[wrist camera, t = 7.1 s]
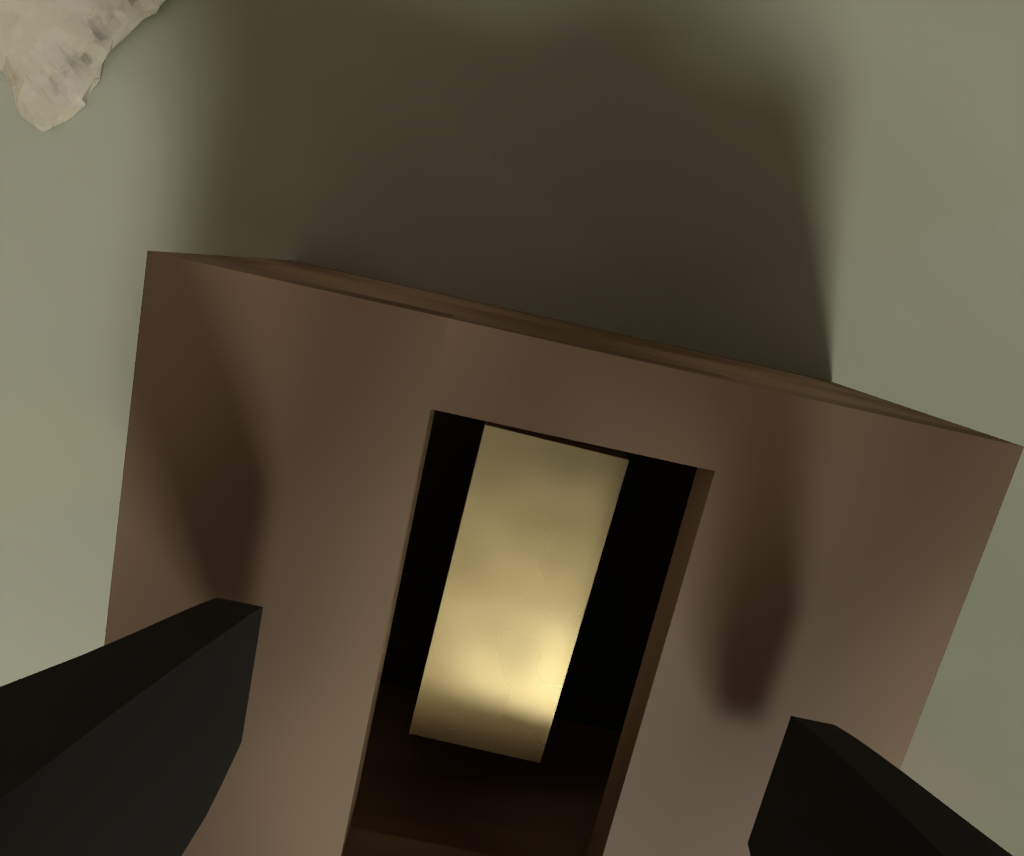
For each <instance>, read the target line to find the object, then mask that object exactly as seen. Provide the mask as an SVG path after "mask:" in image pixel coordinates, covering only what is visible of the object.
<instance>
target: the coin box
mask: <svg viewBox="0 0 1024 856" xmlns="http://www.w3.org/2000/svg"><path fill="white" fill-rule="evenodd" d="M435 410H437V411H442V412H446V413H451V414H456V415H460V416H465V417H469V418H474V419H479V420H483V421H488V422H492V423H497V424H501V425H506V426H511V427H515V428H520V429H524V430H529V431H533V432H538V433H543V434H547V435H552V436H556V437H561V438H565V439H570V440H575V441H579V442H584V443H588V444H593V445H597V446H602V447H607V448H611V449H616V450H620V451H625V452H629V453H634V454H639V455H643V456H648V457H652V458H657V459H662V460H666V461H671V462H675V463H680V464H684V465H689V466H694V467H697V471H696V474H695V478H694V481H693V485H692V488H691V492H690V495H689V499H688V502H687V506H686V509H685V513H684V516H683V520H682V523H681V527H680V530H679V534H678V537H677V541H676V544H675V548H674V551H673V555H672V558H671V562H670V565H669V569H668V572H667V576H666V579H665V583H664V586H663V590H662V593H661V597H660V600H659V604H658V607H657V611H656V614H655V618H654V621H653V624H652V628H651V631H650V635H649V638H648V642H647V645H646V649H645V652H644V656H643V659H642V663H641V666H640V670H639V673H638V677H637V680H636V684H635V687H634V691H633V694H632V698H631V701H630V705H629V708H628V712H627V715H626V719H625V722H624V726H623V729H622V733H621V732H616V731H611V730H607V729H602V728H597V727H592V726H587V725H582V724H577V723H572V722H567V721H562V720H557V719H553V721H552V724H551V727H550V731H549V734H548V738H547V741H546V745H545V748H544V751H543V755H542V758H541V762H540V763H538V762H533V761H529V760H525V759H520V758H516V757H511V756H507V755H502V754H498V753H493V752H489V751H485V750H480V749H476V748H471V747H467V746H462V745H458V744H454V743H449V742H445V741H440V740H436V739H431V738H427V737H422V736H418V735H414V734H409V731H410V727H411V722H412V718H413V714H414V710H415V706H416V702H417V697H418V693H419V691H415V690H410V689H405V688H400V687H395V686H390V685H385V684H381V683H380V680H381V675H382V670H383V665H384V660H385V655H386V650H387V645H388V640H389V635H390V630H391V625H392V620H393V616H394V611H395V606H396V601H397V596H398V591H399V586H400V581H401V576H402V571H403V566H404V561H405V556H406V551H407V546H408V541H409V536H410V531H411V526H412V522H413V517H414V512H415V507H416V502H417V497H418V492H419V487H420V482H421V477H422V472H423V467H424V462H425V457H426V452H427V447H428V442H429V437H430V432H431V427H432V423H433V418H434V413H435ZM1023 448H1024V447H1023V446H1020V445H1017V444H1014V443H1011V442H1008V441H1005V440H1002V439H999V438H996V437H993V436H990V435H987V434H984V433H981V432H979V431H976V430H973V429H970V428H967V427H964V426H961V425H958V424H955V423H952V422H949V421H946V420H943V419H940V418H937V417H934V416H931V415H928V414H925V413H922V412H919V411H916V410H913V409H910V408H907V407H904V406H902V405H899V404H896V403H893V402H890V401H887V400H884V399H881V398H878V397H875V396H872V395H869V394H866V393H863V392H860V391H857V390H854V389H851V388H848V387H845V386H842V385H839V384H836V383H833V382H829V381H825V380H820V379H816V378H811V377H807V376H802V375H798V374H794V373H789V372H785V371H780V370H776V369H771V368H767V367H762V366H758V365H754V364H749V363H745V362H740V361H736V360H731V359H727V358H722V357H718V356H714V355H709V354H705V353H700V352H696V351H691V350H687V349H682V348H678V347H673V346H669V345H665V344H660V343H656V342H651V341H647V340H642V339H638V338H633V337H629V336H625V335H620V334H616V333H611V332H607V331H602V330H598V329H593V328H589V327H584V326H580V325H576V324H571V323H567V322H562V321H558V320H553V319H549V318H544V317H540V316H536V315H531V314H527V313H522V312H518V311H513V310H509V309H504V308H500V307H495V306H491V305H487V304H482V303H478V302H473V301H469V300H464V299H460V298H455V297H451V296H447V295H442V294H438V293H433V292H429V291H424V290H420V289H415V288H411V287H407V286H402V285H398V284H393V283H389V282H384V281H380V280H375V279H371V278H366V277H362V276H358V275H353V274H349V273H344V272H340V271H335V270H331V269H326V268H322V267H318V266H313V265H309V264H304V263H300V262H295V261H289V260H274V259H259V258H245V257H230V256H215V255H200V254H186V253H171V252H156V251H148V252H147V261H146V270H145V280H144V289H143V298H142V307H141V316H140V325H139V334H138V343H137V353H136V362H135V371H134V380H133V389H132V398H131V407H130V416H129V425H128V435H127V444H126V453H125V462H124V471H123V480H122V489H121V498H120V508H119V517H118V526H117V535H116V544H115V553H114V562H113V571H112V580H111V590H110V599H109V608H108V617H107V626H106V635H105V644H104V646H105V645H107V644H109V643H111V642H114V641H116V640H118V639H121V638H123V637H125V636H128V635H130V634H132V633H134V632H137V631H139V630H141V629H144V628H146V627H148V626H150V625H153V624H155V623H157V622H159V621H162V620H164V619H166V618H168V617H171V616H173V615H175V614H177V613H180V612H182V611H184V610H186V609H189V608H191V607H194V606H196V605H198V604H201V603H203V602H206V601H209V600H211V599H214V598H217V597H218V598H223V599H227V600H232V601H237V602H242V603H247V604H252V605H257V606H261V607H263V611H262V617H261V623H260V630H259V636H258V642H257V649H256V655H255V661H254V667H253V674H252V680H251V686H250V692H249V699H248V705H247V711H246V718H245V724H244V730H243V736H242V742H241V744H240V747H239V749H238V751H237V753H236V755H235V757H234V759H233V762H232V764H231V766H230V768H229V770H228V772H227V774H226V777H225V779H224V781H223V783H222V785H221V787H220V789H219V791H218V793H217V795H216V797H215V799H214V801H213V803H212V805H211V807H210V809H209V811H208V813H207V815H206V817H205V819H204V820H203V822H202V824H201V825H200V827H199V828H198V830H197V832H196V833H195V835H194V837H193V838H192V840H191V841H190V843H189V845H188V846H187V848H186V849H185V851H184V853H183V854H182V856H750V852H749V847H748V840H749V837H750V834H751V831H752V828H753V826H754V823H755V820H756V817H757V814H758V811H759V808H760V805H761V802H762V799H763V796H764V793H765V790H766V787H767V785H768V782H769V779H770V776H771V773H772V770H773V767H774V764H775V761H776V758H777V755H778V752H779V749H780V746H781V744H782V741H783V738H784V735H785V732H786V729H787V726H788V723H789V720H790V717H791V716H795V717H799V718H804V719H809V720H814V721H819V722H824V723H829V724H833V725H836V726H838V727H839V728H841V729H843V730H844V731H846V732H847V733H849V734H851V735H852V736H854V737H855V738H857V739H858V740H860V741H861V742H862V743H864V744H865V745H867V746H868V747H870V748H871V749H872V750H874V751H875V752H876V753H878V754H879V755H881V756H882V757H883V758H885V759H886V760H887V761H889V762H890V763H891V764H893V765H894V766H895V767H897V768H898V769H899V770H900V767H901V765H902V762H903V759H904V757H905V754H906V752H907V749H908V746H909V744H910V741H911V739H912V736H913V733H914V731H915V728H916V726H917V723H918V720H919V718H920V715H921V713H922V710H923V708H924V705H925V702H926V700H927V697H928V695H929V692H930V689H931V687H932V684H933V682H934V679H935V676H936V674H937V671H938V669H939V666H940V663H941V661H942V658H943V656H944V653H945V650H946V648H947V645H948V643H949V640H950V637H951V635H952V632H953V630H954V627H955V624H956V622H957V619H958V617H959V614H960V611H961V609H962V606H963V604H964V601H965V598H966V596H967V593H968V591H969V588H970V585H971V583H972V580H973V578H974V575H975V572H976V570H977V567H978V565H979V562H980V559H981V557H982V554H983V552H984V549H985V546H986V544H987V541H988V539H989V536H990V533H991V531H992V528H993V526H994V523H995V520H996V518H997V515H998V513H999V510H1000V507H1001V505H1002V502H1003V500H1004V497H1005V494H1006V492H1007V489H1008V487H1009V484H1010V481H1011V479H1012V476H1013V474H1014V471H1015V468H1016V466H1017V463H1018V461H1019V458H1020V455H1021V453H1022V450H1023Z"/></svg>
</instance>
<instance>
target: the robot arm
mask: <svg viewBox="0 0 1024 856" xmlns="http://www.w3.org/2000/svg"><path fill="white" fill-rule="evenodd" d="M262 611H263V607H261V606H257V605H252V604H247V603H242V602H237V601H232V600H227V599H223V598H218V597H217V598H214V599H211V600H209V601H206V602H203V603H201V604H198V605H196V606H194V607H191V608H189V609H186V610H184V611H182V612H180V613H177V614H175V615H173V616H171V617H168V618H166V619H164V620H162V621H159V622H157V623H155V624H153V625H150V626H148V627H146V628H144V629H141V630H139V631H137V632H134V633H132V634H130V635H128V636H125V637H123V638H121V639H118V640H116V641H114V642H111V643H109V644H107V645H105V646H102V647H100V648H98V649H95V650H93V651H91V652H88V653H86V654H84V655H81V656H79V657H76V658H74V659H71V660H68V661H66V662H63V663H61V664H58V665H56V666H53V667H50V668H48V669H45V670H43V671H40V672H37V673H35V674H32V675H30V676H27V677H25V678H22V679H19V680H17V681H14V682H12V683H9V684H7V685H4V686H1V687H0V856H182V854H183V853H184V851H185V849H186V848H187V846H188V845H189V843H190V841H191V840H192V838H193V837H194V835H195V833H196V832H197V830H198V828H199V827H200V825H201V824H202V822H203V820H204V819H205V817H206V815H207V813H208V811H209V809H210V807H211V805H212V803H213V801H214V799H215V797H216V795H217V793H218V791H219V789H220V787H221V785H222V783H223V781H224V779H225V777H226V774H227V772H228V770H229V768H230V766H231V764H232V762H233V759H234V757H235V755H236V753H237V751H238V749H239V747H240V744H241V742H242V736H243V730H244V724H245V718H246V711H247V705H248V699H249V692H250V686H251V680H252V674H253V667H254V661H255V655H256V649H257V642H258V636H259V630H260V623H261V617H262ZM748 847H749V852H750V856H1012V855H1011V854H1010V853H1008V852H1007V851H1006V850H1004V849H1003V848H1002V847H1000V846H999V845H998V844H996V843H995V842H994V841H992V840H991V839H990V838H988V837H987V836H986V835H984V834H983V833H982V832H980V831H979V830H978V829H976V828H975V827H974V826H972V825H971V824H970V823H969V822H967V821H966V820H965V819H963V818H962V817H961V816H959V815H958V814H957V813H955V812H954V811H953V810H952V809H950V808H949V807H948V806H946V805H945V804H944V803H942V802H941V801H940V800H939V799H937V798H936V797H935V796H933V795H932V794H931V793H929V792H928V791H927V790H926V789H924V788H923V787H922V786H920V785H919V784H918V783H916V782H915V781H914V780H912V779H911V778H910V777H909V776H907V775H906V774H905V773H903V772H902V771H901V770H899V769H898V768H897V767H895V766H894V765H893V764H891V763H890V762H889V761H887V760H886V759H885V758H883V757H882V756H881V755H879V754H878V753H876V752H875V751H874V750H872V749H871V748H870V747H868V746H867V745H865V744H864V743H862V742H861V741H860V740H858V739H857V738H855V737H854V736H852V735H851V734H849V733H847V732H846V731H844V730H843V729H841V728H839V727H838V726H836V725H833V724H829V723H824V722H819V721H814V720H809V719H804V718H799V717H795V716H791V717H790V720H789V723H788V726H787V729H786V732H785V735H784V738H783V741H782V744H781V746H780V749H779V752H778V755H777V758H776V761H775V764H774V767H773V770H772V773H771V776H770V779H769V782H768V785H767V787H766V790H765V793H764V796H763V799H762V802H761V805H760V808H759V811H758V814H757V817H756V820H755V823H754V826H753V828H752V831H751V834H750V837H749V840H748Z"/></svg>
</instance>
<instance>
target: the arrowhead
mask: <svg viewBox="0 0 1024 856" xmlns="http://www.w3.org/2000/svg"><path fill="white" fill-rule="evenodd" d="M165 1H166V0H0V70H1V71H2V72H3V74H4V75H5V77H6V78H7V79H8V81H9V82H10V83H11V85H12V86H13V90H14V96H15V101H16V106H17V109H18V110H19V112H20V114H21V115H22V117H23V118H24V119H25V120H27V121H28V122H29V123H31V124H32V125H34V126H35V127H36V128H38V129H39V130H41V131H42V132H45V131H47V130H49V129H50V128H52V127H54V126H56V125H58V124H60V123H62V122H64V121H66V120H69V119H71V118H72V117H73V116H74V115H75V114H76V113H78V112H79V111H80V110H81V109H82V108H83V107H84V106H85V105H86V102H87V96H88V94H89V93H90V92H91V91H92V90H93V89H94V87H95V86H96V85H97V83H98V82H99V81H100V79H101V73H102V68H103V63H104V60H105V58H106V57H107V55H108V53H109V52H110V51H111V50H112V49H113V48H114V47H115V46H116V45H117V44H118V43H119V42H120V41H121V40H123V39H124V38H125V37H126V36H127V35H128V34H129V33H130V32H131V31H132V30H133V29H134V28H135V27H136V26H137V25H138V24H139V23H140V22H141V21H142V20H143V19H145V18H147V17H149V16H151V15H153V14H156V13H157V11H158V9H159V7H160V6H161V5H162V4H163V3H164V2H165ZM42 119H43V120H42Z"/></svg>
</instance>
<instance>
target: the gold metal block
mask: <svg viewBox="0 0 1024 856" xmlns="http://www.w3.org/2000/svg"><path fill="white" fill-rule="evenodd" d="M628 462H629V459H628V458H627V456H626V454H625V453H624V451H620V450H616V449H611V448H607V447H602V446H597V445H593V444H588V443H584V442H579V441H575V440H570V439H565V438H561V437H556V436H552V435H547V434H543V433H538V432H533V431H529V430H524V429H520V428H515V427H511V426H506V425H501V424H497V423H492V422H488V421H485V423H484V427H483V432H482V436H481V440H480V444H479V448H478V452H477V456H476V460H475V464H474V468H473V472H472V476H471V480H470V484H469V488H468V492H467V496H466V500H465V504H464V509H463V513H462V517H461V521H460V525H459V529H458V533H457V537H456V541H455V545H454V549H453V553H452V557H451V561H450V565H449V569H448V573H447V577H446V582H445V586H444V590H443V594H442V598H441V602H440V606H439V610H438V614H437V618H436V622H435V626H434V630H433V634H432V639H431V643H430V647H429V651H428V655H427V660H426V664H425V668H424V672H423V676H422V681H421V685H420V689H419V693H418V697H417V702H416V706H415V710H414V714H413V718H412V722H411V727H410V731H409V734H414V735H418V736H422V737H427V738H431V739H436V740H440V741H445V742H449V743H454V744H458V745H462V746H467V747H471V748H476V749H480V750H485V751H489V752H493V753H498V754H502V755H507V756H511V757H516V758H520V759H525V760H529V761H533V762H538V763H540V762H541V758H542V755H543V751H544V748H545V745H546V741H547V738H548V734H549V731H550V727H551V724H552V721H553V717H554V714H555V710H556V707H557V704H558V700H559V697H560V693H561V690H562V687H563V683H564V680H565V676H566V673H567V670H568V666H569V663H570V659H571V656H572V653H573V649H574V646H575V642H576V639H577V636H578V632H579V629H580V625H581V622H582V619H583V615H584V612H585V608H586V605H587V601H588V598H589V595H590V591H591V588H592V584H593V581H594V578H595V574H596V571H597V567H598V564H599V561H600V557H601V554H602V550H603V547H604V544H605V540H606V537H607V533H608V530H609V527H610V523H611V520H612V516H613V513H614V510H615V506H616V503H617V499H618V496H619V493H620V489H621V486H622V482H623V479H624V476H625V472H626V469H627V465H628Z"/></svg>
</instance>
